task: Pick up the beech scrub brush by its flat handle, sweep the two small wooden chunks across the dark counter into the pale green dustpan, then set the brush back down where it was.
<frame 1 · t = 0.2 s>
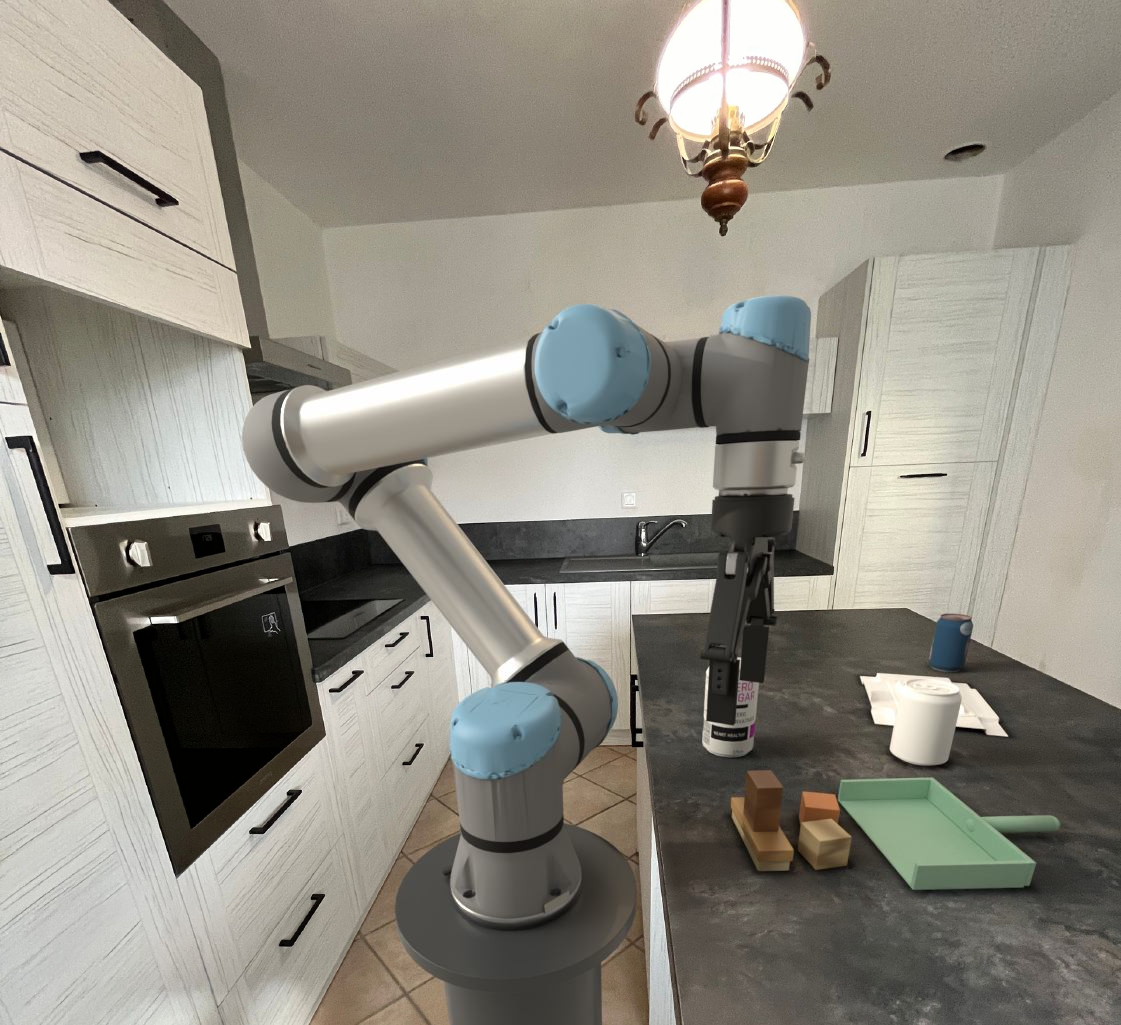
hand: (737, 700, 64), 20 cm above the countertop, tool pointing down, fingers open, 13 cm apart
brush: (758, 842, 74), on the countertop
chunk a: (821, 857, 70), on the countertop
tray: (924, 703, 115), on the countertop
soda can: (945, 669, 133), on the countertop
beverage can: (917, 757, 94), on the countertop
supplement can: (727, 749, 99), on the countertop
dustpan: (919, 838, 73), on the countertop
chunk b: (816, 827, 76), on the countertop
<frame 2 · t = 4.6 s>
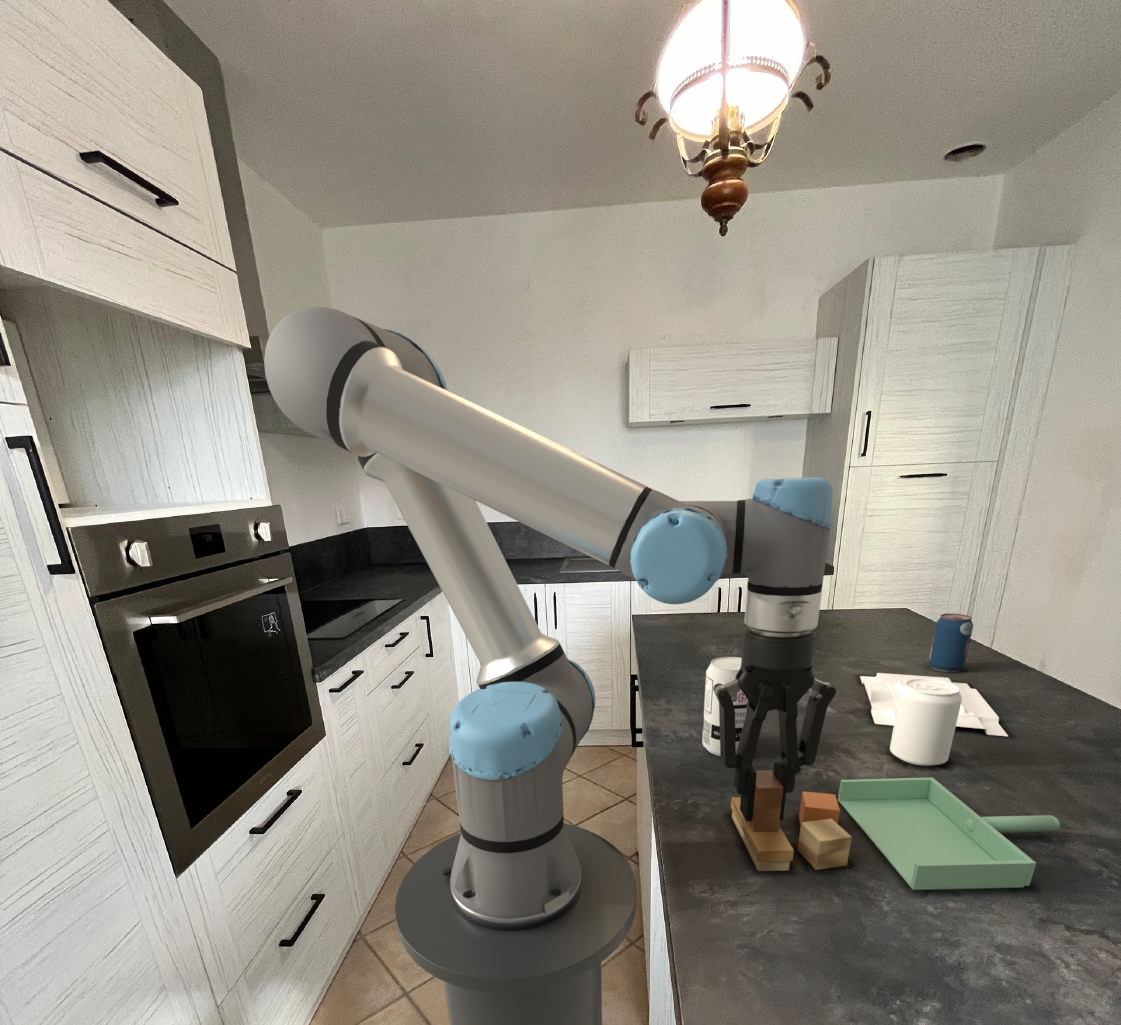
hand: (761, 814, 72), 4 cm above the countertop, tool pointing down, fingers closed on brush, 3 cm apart
brush: (758, 842, 74), on the countertop, touching gripper
everything else where it was.
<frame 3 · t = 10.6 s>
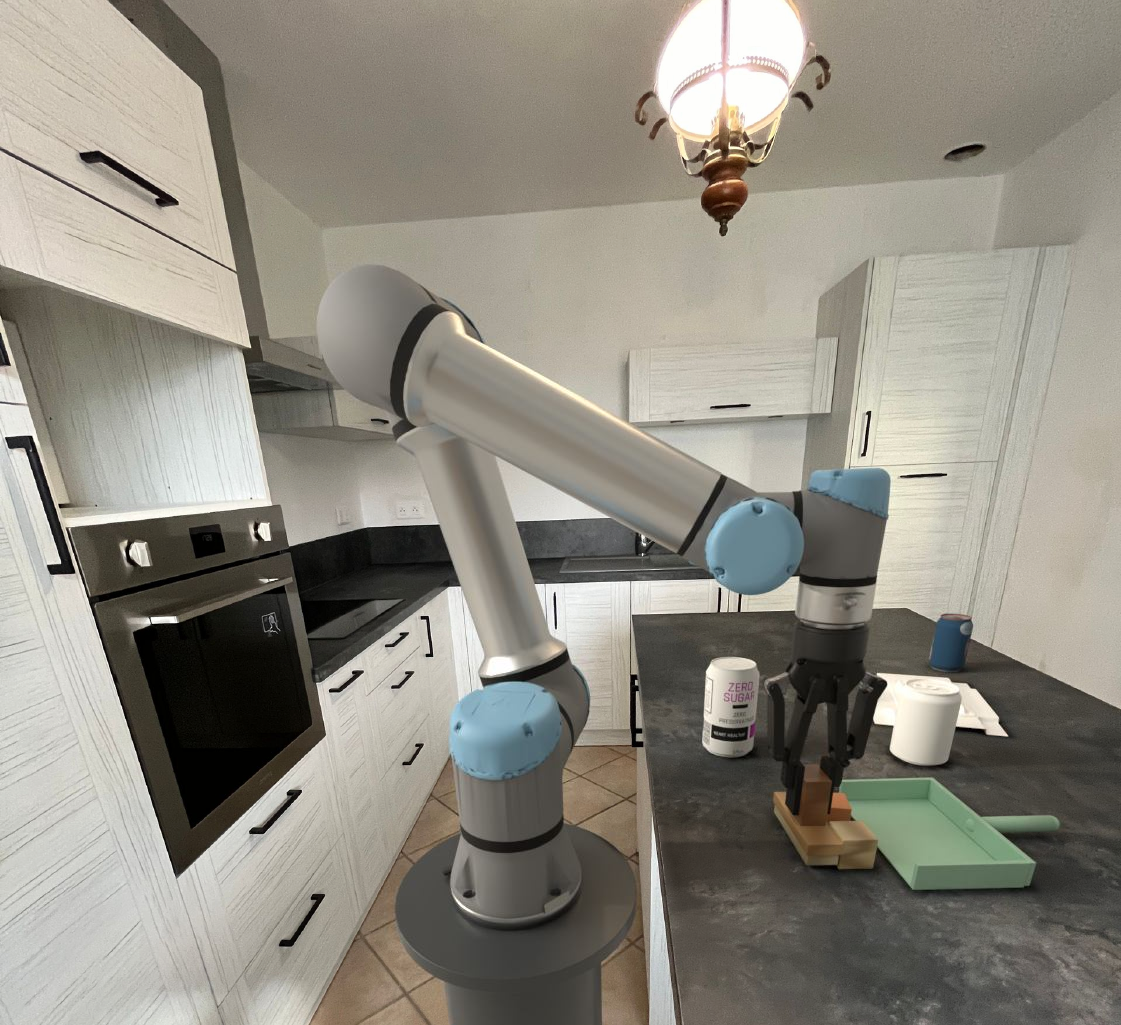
hand: (807, 808, 72), 5 cm above the countertop, tool pointing down, fingers closed on brush, 3 cm apart
brush: (803, 836, 73), point 1 cm above the countertop, touching chunk b, gripper
chunk a: (848, 858, 70), on the countertop
chunk b: (827, 826, 76), on the countertop, touching brush
everything else where it was.
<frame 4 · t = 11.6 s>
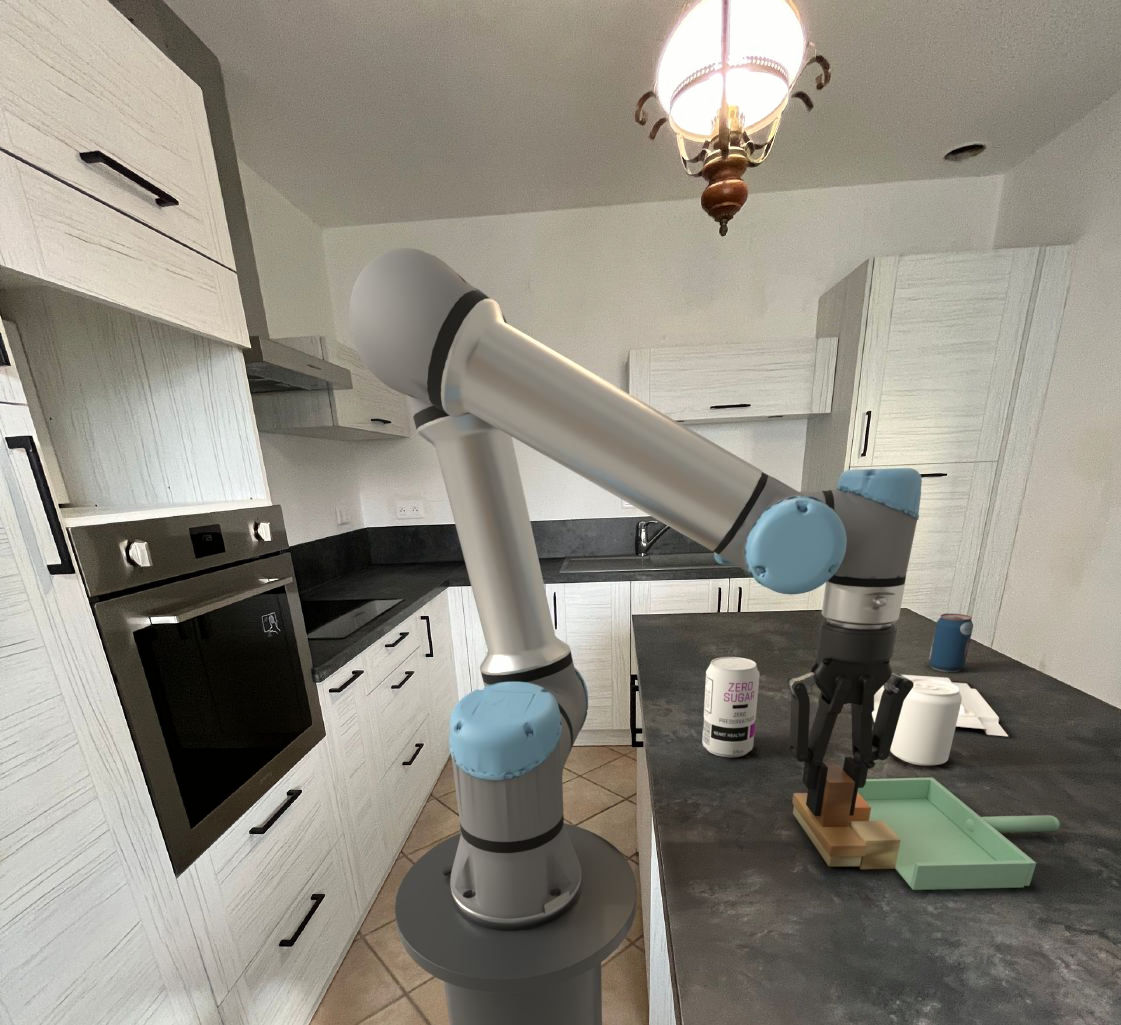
hand: (829, 809, 72), 5 cm above the countertop, tool pointing down, fingers closed on brush, 3 cm apart
brush: (823, 838, 73), point 1 cm above the countertop, touching chunk a, chunk b, gripper
chunk a: (869, 858, 70), on the countertop, touching brush, dustpan
chunk b: (843, 826, 76), on the countertop, touching brush, dustpan
everything else where it was.
when the fingers open (5 cm above the countertop, at t = 11.6 s): brush moves 2 cm, resting on chunk a, chunk b.
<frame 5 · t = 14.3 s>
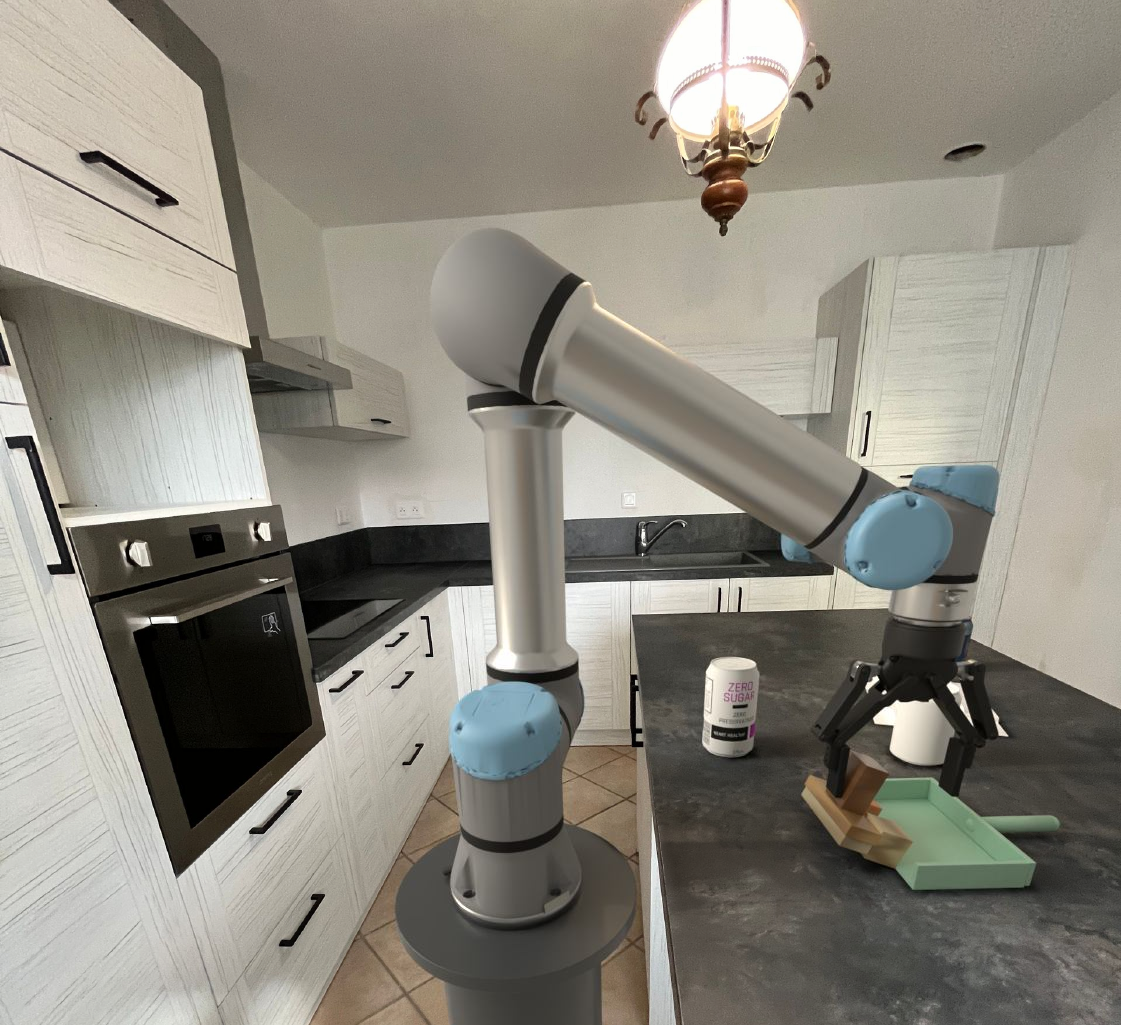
hand: (890, 792, 71), 7 cm above the countertop, tool pointing down, fingers open, 13 cm apart
brush: (831, 822, 72), point 3 cm above the countertop, tilted 22°, touching chunk a, chunk b, gripper
chunk a: (871, 853, 70), point 1 cm above the countertop, tilted 22°, touching brush, dustpan
chunk b: (845, 821, 76), point 1 cm above the countertop, tilted 23°, touching brush, dustpan
everything else where it was.
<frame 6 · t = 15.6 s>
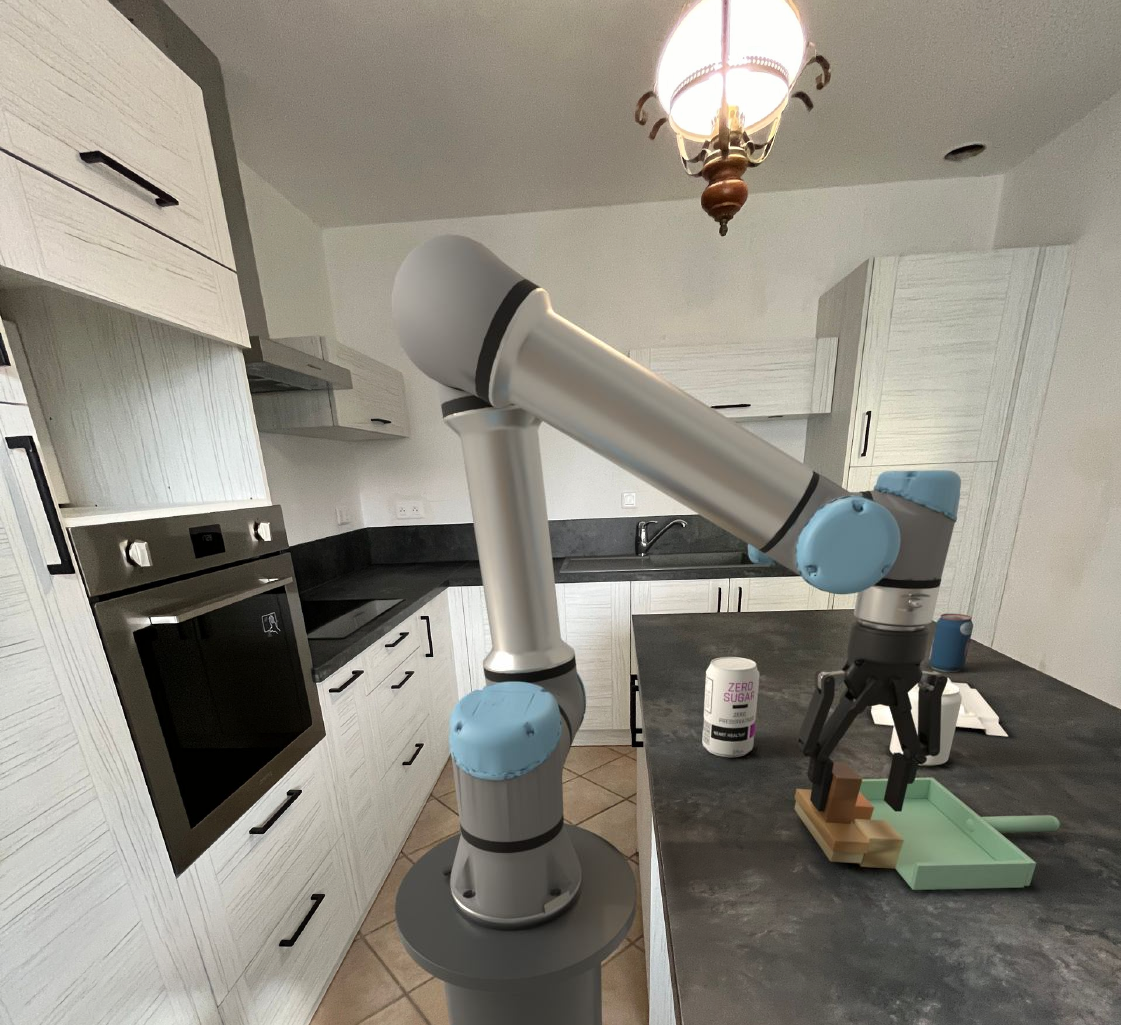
hand: (854, 805, 71), 5 cm above the countertop, tool pointing down, fingers open, 8 cm apart
brush: (825, 834, 73), point 1 cm above the countertop, tilted 5°, touching chunk a, chunk b, gripper
chunk a: (869, 857, 70), on the countertop, tilted 5°, touching brush, dustpan
chunk b: (843, 825, 76), on the countertop, tilted 6°, touching brush, dustpan
everything else where it was.
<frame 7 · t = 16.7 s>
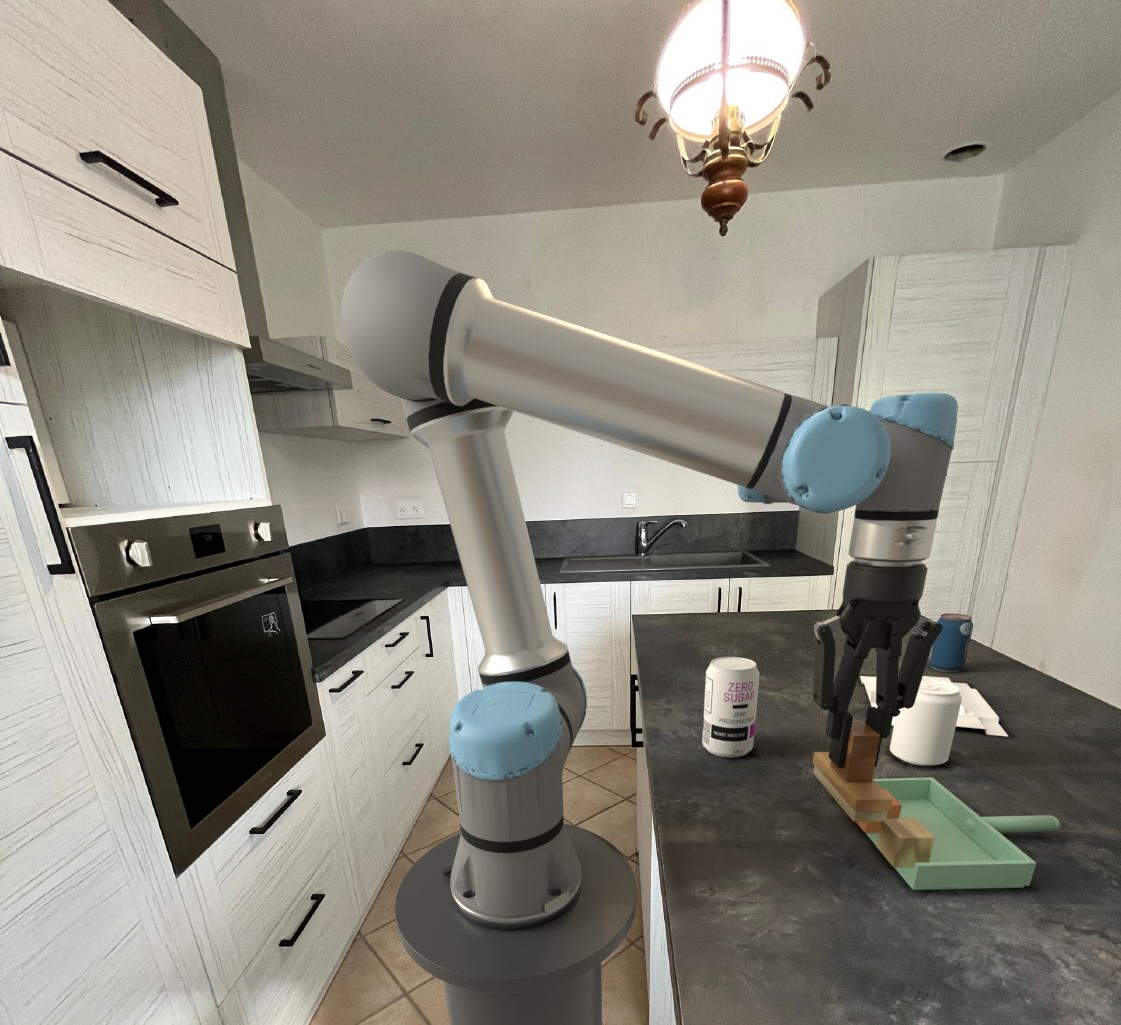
hand: (852, 761, 70), 11 cm above the countertop, tool pointing down, fingers closed on brush, 3 cm apart
brush: (846, 795, 71), point 6 cm above the countertop, touching gripper
chunk a: (887, 842, 69), point 2 cm above the countertop, tilted 90°, touching dustpan
chunk b: (859, 811, 76), point 2 cm above the countertop, tilted 90°, touching dustpan
everything else where it was.
when the fingers open (4 cm above the countertop, at t = 20.9 s): brush stays where it is, on the countertop.
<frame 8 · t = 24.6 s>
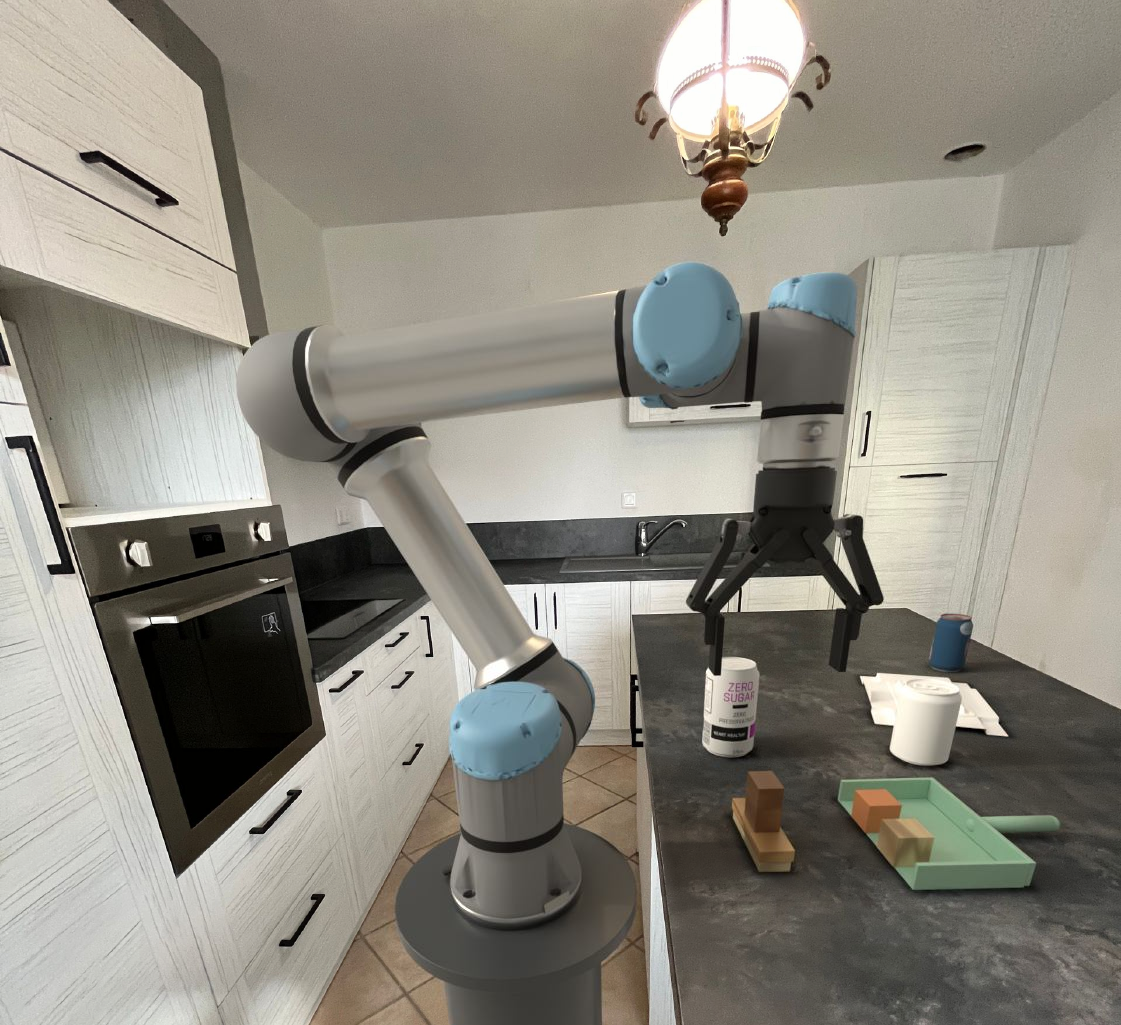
hand: (775, 670, 66), 23 cm above the countertop, tool pointing down, fingers open, 13 cm apart
brush: (759, 842, 74), on the countertop
everything else where it was.
at the end: chunk a inside the target area in the dustpan (7.4 cm from its centre), point 2.2 cm above the dustpan's base; chunk b inside the target area in the dustpan (6.9 cm from its centre), point 2.2 cm above the dustpan's base; the gripper is holding nothing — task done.
